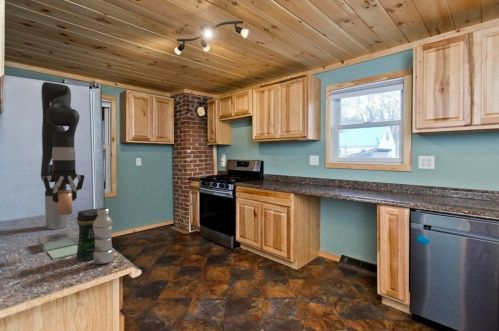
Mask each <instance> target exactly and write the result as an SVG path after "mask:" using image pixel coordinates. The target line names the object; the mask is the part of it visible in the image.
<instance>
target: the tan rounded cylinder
mask: <svg viewBox="0 0 499 331" xmlns="http://www.w3.org/2000/svg"><path fill="white" fill-rule="evenodd" d="M57 193H58V202H57V215H67V216H68V215H72V214H73V201H72V189H70V190H69V189H66V190H62V191H57Z"/></svg>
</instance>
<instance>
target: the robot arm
mask: <svg viewBox="0 0 499 331" xmlns="http://www.w3.org/2000/svg"><path fill="white" fill-rule="evenodd" d="M71 103H72V92H71V89H70V87H69V86H68V85H67V84H61V83H55V82H50V81H49V82H48V81H44V82H43V83H42V85H41V109H42V110H41V111H42V124H41V125H42V126H41V145H42V146H41V149H42V150H41V152H42V155H41V167H40V178H41V181H42V182H43V185H44V188H45V191H44V202H45V203H44V208H45V209H44V210H45V211H44V213H45V215H44V216H45V217H44V218H45V221H44V222H45V230H46V229H47V230H57V229H58V230H59V229H63V228H66V227H67V226H68V214H67V215H57V202H58V193H57V191H62V190H67V185H69V188H70V190H72V202H73V201H74V202H75V201H76V199H77V194H78V193H77V191H80V190H82V189H83V185H84V181H85V175H84V174H78V173H77V172H76V149H75V134H76V130H77V127H78V125H79V121H80V114H79V112H78V110H76V109H75V108H72V106H71ZM65 127H68V128H67V130H66V129H65ZM51 163H52V164H51ZM76 178H77V180H78V181H77V185H76V184H75V182H74V180H75V179H76ZM50 183H54V184H53V186H52V187H51V184H50Z"/></svg>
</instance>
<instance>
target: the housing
mask: <svg viewBox="0 0 499 331" xmlns="http://www.w3.org/2000/svg"><path fill="white" fill-rule="evenodd" d="M36 239H37V246H38V248H39V249H40V250H41V251H42V252H43V253H47V251H51V250H56V249H61V248H65V247H70V246H75V245H76V246H78V240H79V236H77V235H76V234H75V233H73V232H72V231H71V230H69V231H68V230H67V231H63V232H57V233H52V234H47V235H41V236H37V238H36Z"/></svg>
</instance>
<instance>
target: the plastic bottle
mask: <svg viewBox="0 0 499 331" xmlns="http://www.w3.org/2000/svg"><path fill="white" fill-rule="evenodd" d="M96 209H97V215H98V216H97V217H96V219H95V220H94V222H93V230H94V237H95V248H94V254H93V259H92V260H93V262H94V263H95V264H97V265H103V264H104V265H105V264H108V263H111V262H112V261H113V259H114V250H113V243H112V233H113V225H114V223H113V222H114V221H113V219H112V218H111V217H110V216H109V214H110V212H109V211H110V210H109V208H108V207H100V209H99V208H96Z"/></svg>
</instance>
